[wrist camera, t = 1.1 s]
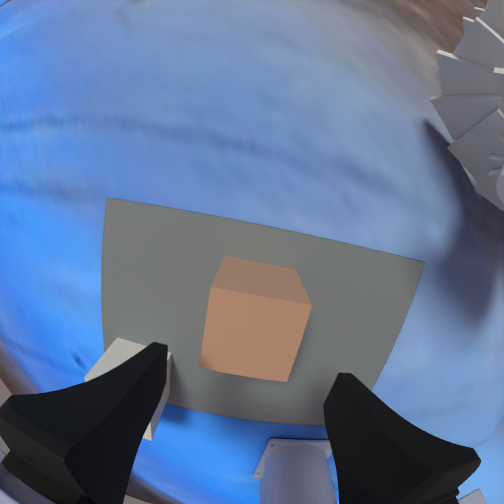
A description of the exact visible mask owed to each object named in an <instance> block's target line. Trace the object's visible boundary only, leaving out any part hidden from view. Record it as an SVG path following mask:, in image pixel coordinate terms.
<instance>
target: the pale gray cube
mask: <svg viewBox="0 0 504 504" xmlns="http://www.w3.org/2000/svg"><path fill="white" fill-rule="evenodd" d="M145 347H147V346H144V345H141V344H137V343H134V342H131V341H127V340H124V339H121V338H118V337H117V338H116V340H115V341H114V342H113V343H112V344H111V346H110V347H109V348H108V349H107V350H106V352H105V353H104V354H103V355H102V357H101V358H100V359H99V360H98V361H97V363H96V364H95V365H94V366H93V368H92V369H91V370H90V371H89V373H88V374H87V375H86V376H85V382H86V381H89V380H91V379H94V378H96V377H98V376H100V375H102V374H104V373H106V372H108V371H109V370H111V369H113V368H115V367H117V366H118V365H120V364H122V363H123V362H125V361H126V360H128V359H129V358H131V357H132V356H134V355H135V354H137V353H138V352H140V351H141V350H142V349H144V348H145ZM170 370H171V353H170V352H168V357H167V381H166V384H165V388H164V391H163V394H162V397H161V400H160V402H159V404H158V406H157V408H156V411H155V413H154V415H153V417H152V419H151V421H150V423H149V425H148V427H147V429H146V431H145V433H144V436H143V438H144V439H147V440H151V441H152V439H153V436H154V434H155V431H156V428H157V426H158V423H159V420H160V418H161V415H162V412H163V410H164V407H165V404H166V402H167V399H168V397H169V394H170Z"/></svg>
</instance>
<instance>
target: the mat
mask: <svg viewBox="0 0 504 504" xmlns="http://www.w3.org/2000/svg"><path fill="white" fill-rule="evenodd" d="M224 256H229V257H234V258H239V259H244V260H249V261H254V262H259V263H264V264H269V265H274V266H280V267H285V268H290V269H295V270H296V271H297V273H298V276H299V278H300V280H301V282H302V284H303V286H304V288H305V291H306V293H307V295H308V297H309V299H310V301H311V303H312V308H311V311H310V314H309V318H308V321H307V324H306V327H305V330H304V333H303V337H302V340H301V343H300V346H299V349H298V352H297V355H296V357H295V360H294V363H293V366H292V369H291V372H290V375H289V377H288V380H287V382H282V381H274V380H266V379H259V378H252V377H246V376H240V375H234V374H229V373H223V372H218V371H213V370H208V369H203V368H199V365H200V357H201V350H202V342H203V335H204V328H205V322H206V315H207V308H208V302H209V295H210V289H211V285H212V283H213V281H214V278H215V276H216V274H217V271H218V269H219V267H220V265H221V262H222V260H223V258H224ZM424 264H425V263H424V262H422V261H419V260H415V259H411V258H407V257H403V256H399V255H395V254H391V253H386V252H382V251H378V250H374V249H370V248H365V247H361V246H357V245H352V244H348V243H344V242H339V241H335V240H330V239H326V238H321V237H317V236H312V235H308V234H303V233H298V232H294V231H289V230H284V229H279V228H274V227H270V226H265V225H260V224H255V223H250V222H245V221H240V220H234V219H229V218H224V217H219V216H214V215H208V214H203V213H197V212H192V211H186V210H181V209H175V208H169V207H164V206H158V205H152V204H146V203H140V202H134V201H128V200H122V199H115V198H107V199H106V208H105V218H104V229H103V244H102V268H101V302H102V326H103V341H104V352H106V350H107V349H108V348H109V347H110V346H111V344H112V343H113V342H114V341H115V340H116V338H117V337H118V338H121V339H124V340H127V341H131V342H134V343H137V344H141V345H144V346H148V345H149V344H151V343H152V342H158V343H162V344H166V345H168V352H170V353H171V370H170V394H169V397H168V399H167V402H166V403H167V404H170V405H174V406H178V407H182V408H186V409H191V410H195V411H200V412H205V413H210V414H215V415H221V416H226V417H232V418H239V419H246V420H254V421H262V422H272V423H283V424H298V425H325V420H324V410H323V404H324V402H325V400H326V398H327V396H328V394H329V392H330V390H331V388H332V386H333V384H334V382H335V379H336V377H337V375H338V373H339V372H341V373H352V374H353V375H354V376H355V377H356V378H358V379H359V380H360V381H361V382H362V383H363V384H364V385H365V386H366V387H367V388H368V389H369V390H370V391H371V390H372V388H373V387H374V385H375V383H376V381H377V379H378V377H379V375H380V373H381V371H382V369H383V367H384V365H385V363H386V361H387V359H388V357H389V355H390V353H391V351H392V349H393V346H394V344H395V342H396V340H397V337H398V335H399V333H400V330H401V328H402V326H403V323H404V321H405V318H406V316H407V313H408V311H409V308H410V305H411V303H412V300H413V297H414V294H415V291H416V289H417V286H418V283H419V280H420V277H421V273H422V270H423V267H424Z"/></svg>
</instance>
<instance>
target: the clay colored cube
mask: <svg viewBox="0 0 504 504" xmlns="http://www.w3.org/2000/svg"><path fill="white" fill-rule="evenodd" d="M311 308H312V303H311V301H310V299H309V297H308V295H307V293H306V291H305V288H304V286H303V284H302V282H301V280H300V278H299V276H298V273H297V271H296V270H295V269H290V268H285V267H280V266H274V265H269V264H264V263H259V262H254V261H249V260H244V259H239V258H234V257H229V256H224V258H223V260H222V262H221V265H220V267H219V269H218V271H217V274H216V276H215V278H214V281H213V283H212V285H211V289H210V295H209V302H208V308H207V315H206V322H205V328H204V335H203V342H202V350H201V357H200V365H199V368H203V369H208V370H213V371H218V372H223V373H229V374H234V375H240V376H246V377H252V378H259V379H266V380H274V381H282V382H287V380H288V377H289V375H290V372H291V369H292V366H293V363H294V360H295V357H296V355H297V352H298V349H299V346H300V343H301V340H302V337H303V333H304V330H305V327H306V324H307V321H308V318H309V314H310V311H311Z"/></svg>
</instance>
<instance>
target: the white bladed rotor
mask: <svg viewBox="0 0 504 504" xmlns="http://www.w3.org/2000/svg"><path fill="white" fill-rule="evenodd" d="M487 1H488V2H487V4H486V7H485V9H481V8H477V7H475V8H474V10H475V13H476V19H475V20H472V19H469V18H467V17H463V27H464V37H463V39H462V40H461V42H460V43H459V45H458V46H457V48H456V49H455V51H454V52H453V54H450V53H447V52H444V51H441V50H438V51H437V52H436V53H437V59H438V65H439V72H440V80H441V88H442V96H435V97H432V98H431V99H430V101H431V102H432V104H433V105H434V107H435V109H436V110H437V112H438V114H439V115H440V117H441V119H442V120H443V122H444V124H445V126H446V127H447V129H448V131H449V133H450V135H451V137H452V139H453V140H455V141H454V142H452V143H451V144H450V145H449V146H448V148H447V149H448V150H449V151H450V152H451V153H452V154H453V155H454V156H455V157H456V158H457V159H458V160H459V161H460V162H461V164H462V165H463V166H464V167H465V168H466V169H467V170H468V171H469V172H470V173H471V174H472V176H473V177H474V178H475V179H476V180H477V185H476V189H475V191H476V192H477V193H479V194H480V195H481V196H483V197H484V198H486V199H487V200H488V201H490V202H491V203H492V204H494V205H495V206H496V207H498V208H499V209H500V210H502V211H503V212H504V0H487Z"/></svg>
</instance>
